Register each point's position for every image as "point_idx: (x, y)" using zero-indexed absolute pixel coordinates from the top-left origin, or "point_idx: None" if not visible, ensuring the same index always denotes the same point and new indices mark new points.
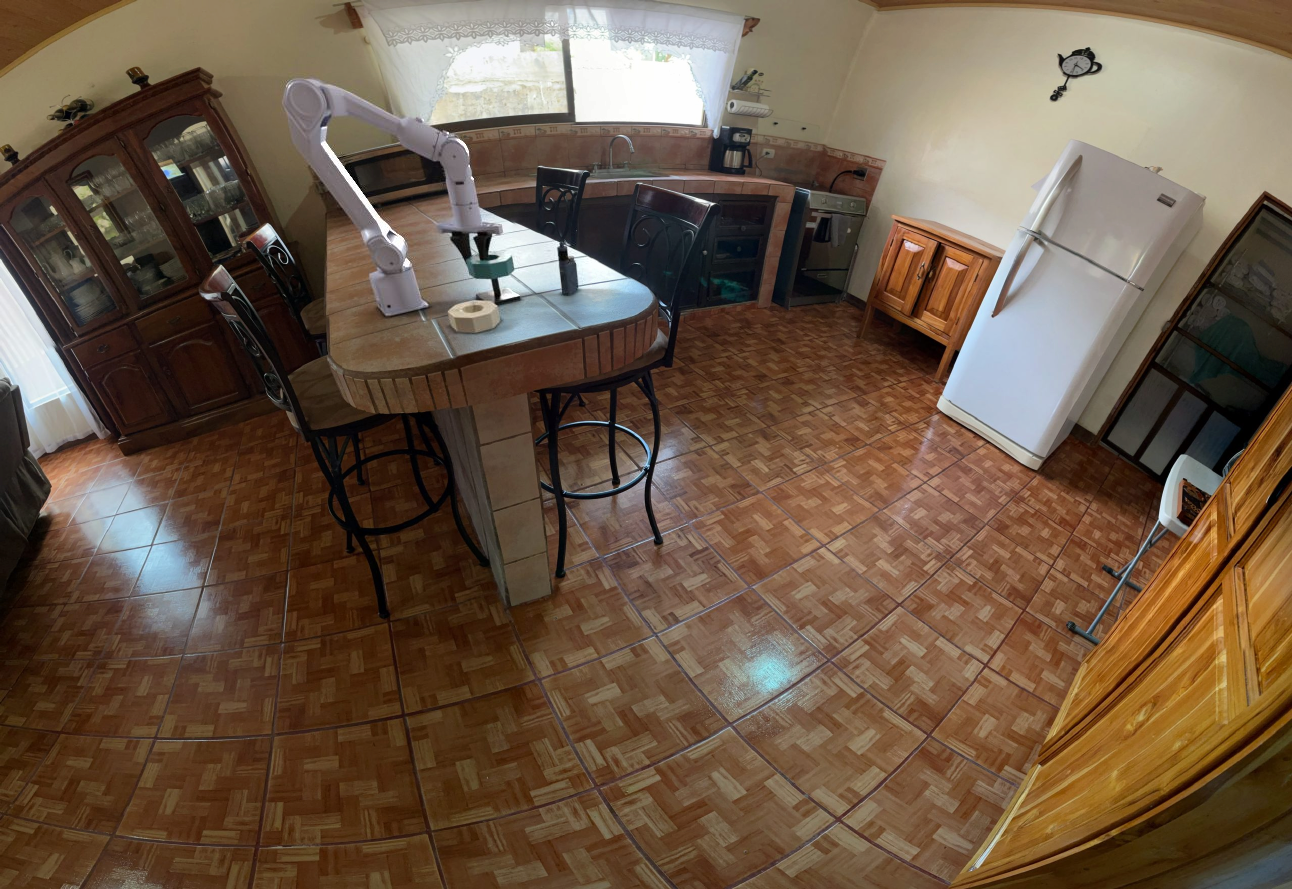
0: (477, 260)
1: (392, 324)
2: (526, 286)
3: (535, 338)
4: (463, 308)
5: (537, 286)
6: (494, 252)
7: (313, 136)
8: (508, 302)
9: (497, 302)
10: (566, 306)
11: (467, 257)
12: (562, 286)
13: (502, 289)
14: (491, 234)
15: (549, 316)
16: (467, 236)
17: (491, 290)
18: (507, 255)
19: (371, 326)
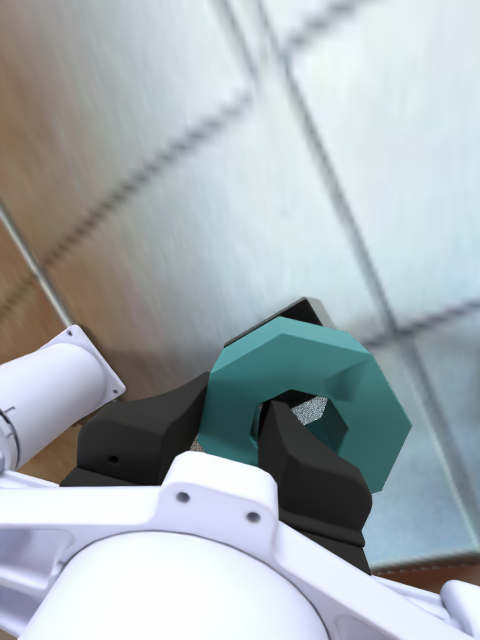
0: (250, 461)
1: None
2: (366, 261)
3: (384, 568)
4: None
5: (404, 266)
6: (314, 356)
7: None
8: None
9: (292, 406)
10: (477, 436)
11: (198, 425)
12: None
13: (297, 320)
14: (365, 515)
15: (423, 483)
16: (171, 447)
17: (264, 324)
18: (387, 419)
19: (57, 460)
